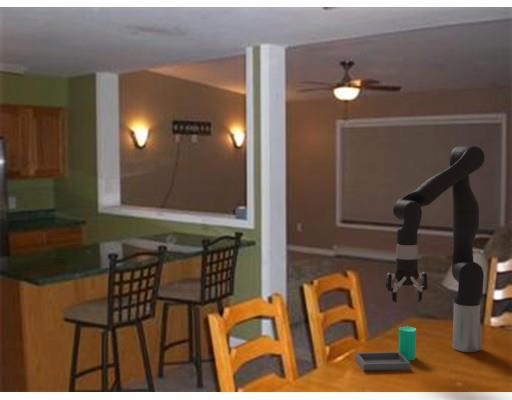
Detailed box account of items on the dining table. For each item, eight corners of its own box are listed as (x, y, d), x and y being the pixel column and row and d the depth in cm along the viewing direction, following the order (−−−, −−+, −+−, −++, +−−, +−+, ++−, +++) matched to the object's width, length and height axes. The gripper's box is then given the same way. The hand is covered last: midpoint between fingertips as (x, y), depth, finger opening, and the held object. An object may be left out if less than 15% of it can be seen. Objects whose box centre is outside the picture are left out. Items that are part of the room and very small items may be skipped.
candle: (414, 355, 225) (414, 322, 224) (416, 360, 219) (417, 327, 218) (397, 354, 226) (397, 321, 225) (399, 360, 220) (400, 326, 219)
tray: (399, 358, 221) (399, 351, 221) (410, 370, 209) (410, 363, 209) (355, 359, 220) (355, 352, 220) (363, 371, 208) (363, 364, 208)
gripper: (423, 254, 224) (423, 299, 225) (384, 255, 223) (384, 299, 225) (430, 258, 217) (429, 304, 218) (389, 259, 216) (389, 305, 217)
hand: (406, 301), depth 221 cm, fingers open, 8 cm apart
